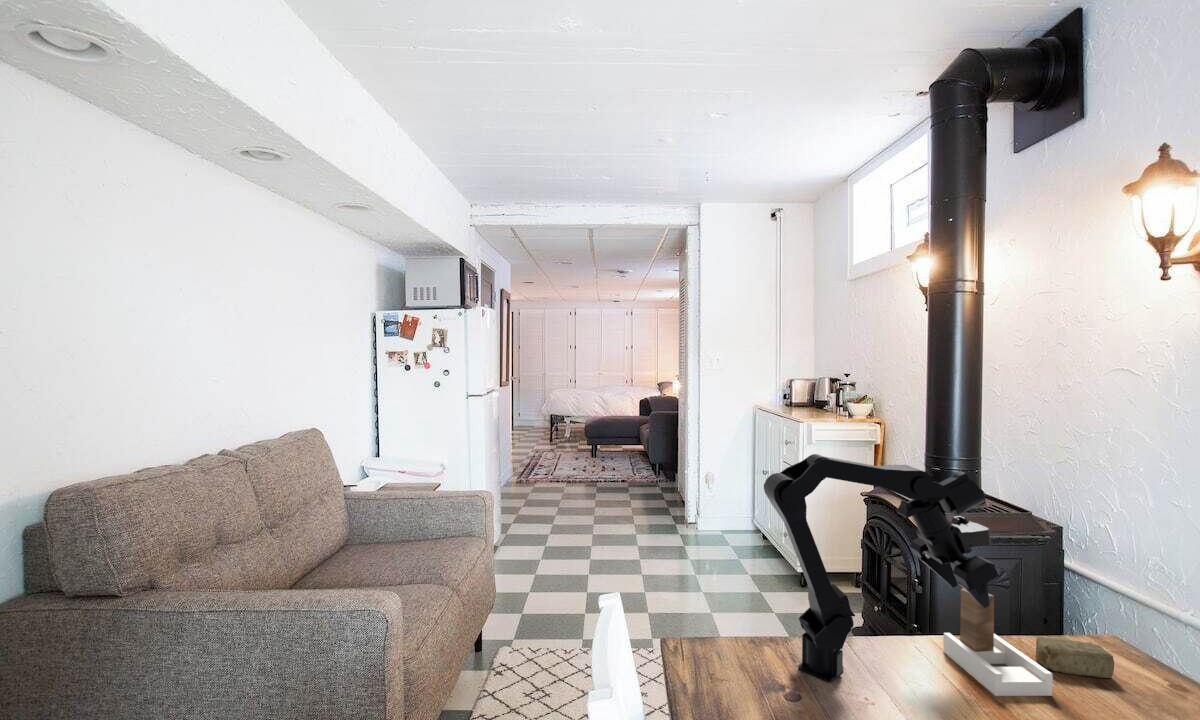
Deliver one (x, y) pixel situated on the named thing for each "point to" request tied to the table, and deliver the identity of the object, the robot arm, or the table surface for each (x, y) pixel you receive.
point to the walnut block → (976, 623)
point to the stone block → (1074, 657)
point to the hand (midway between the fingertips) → (970, 596)
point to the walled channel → (1001, 668)
